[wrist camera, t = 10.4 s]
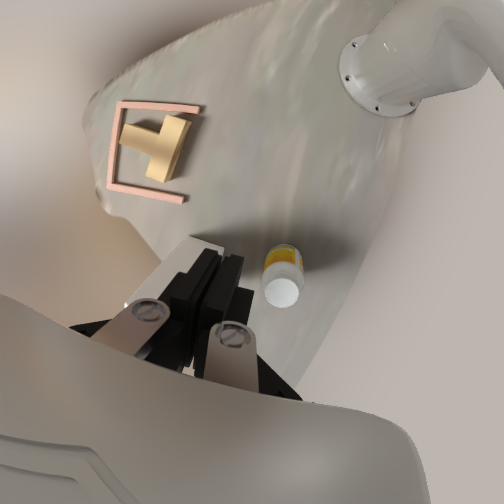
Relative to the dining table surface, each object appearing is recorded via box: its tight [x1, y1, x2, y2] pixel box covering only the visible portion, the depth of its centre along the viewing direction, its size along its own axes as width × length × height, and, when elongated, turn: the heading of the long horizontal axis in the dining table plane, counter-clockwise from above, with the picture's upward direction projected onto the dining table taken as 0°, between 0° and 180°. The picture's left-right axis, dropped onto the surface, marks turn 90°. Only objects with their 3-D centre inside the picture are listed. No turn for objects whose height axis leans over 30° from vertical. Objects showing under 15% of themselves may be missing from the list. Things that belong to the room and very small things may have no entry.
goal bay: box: [106, 102, 201, 204], centre depth 36 cm, size 14×14×1 cm
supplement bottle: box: [262, 244, 304, 308], centre depth 36 cm, size 5×5×10 cm
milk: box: [125, 236, 225, 308], centre depth 32 cm, size 6×6×22 cm
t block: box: [119, 115, 192, 183], centre depth 35 cm, size 9×9×2 cm
